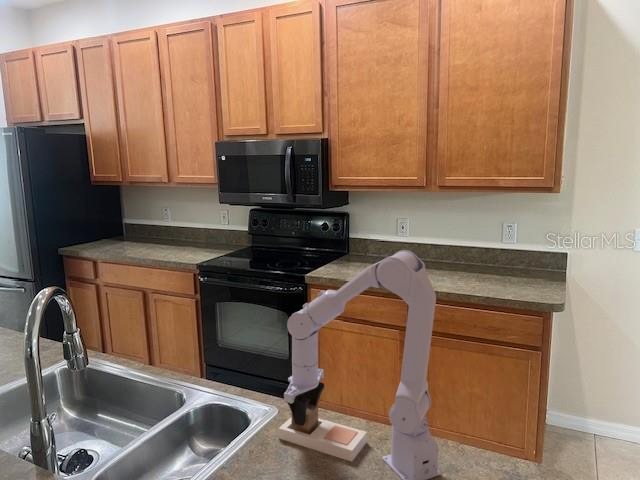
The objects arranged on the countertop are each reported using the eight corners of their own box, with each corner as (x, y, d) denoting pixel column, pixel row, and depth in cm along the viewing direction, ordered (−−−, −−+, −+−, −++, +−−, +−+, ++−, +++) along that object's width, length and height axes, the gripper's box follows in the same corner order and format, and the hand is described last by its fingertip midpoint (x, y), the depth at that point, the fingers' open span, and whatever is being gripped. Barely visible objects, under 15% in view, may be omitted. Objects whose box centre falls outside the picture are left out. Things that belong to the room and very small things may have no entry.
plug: (317, 432, 109) (318, 406, 108) (308, 442, 105) (308, 415, 104) (301, 428, 111) (301, 402, 110) (291, 437, 107) (291, 410, 106)
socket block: (366, 442, 105) (366, 431, 104) (351, 461, 98) (352, 449, 97) (296, 421, 113) (296, 411, 113) (278, 438, 106) (278, 427, 106)
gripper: (305, 348, 113) (305, 401, 115) (271, 370, 101) (272, 429, 103) (331, 353, 110) (331, 408, 112) (300, 377, 97) (300, 438, 99)
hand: (304, 419), depth 107 cm, fingers closed on plug, 4 cm apart
